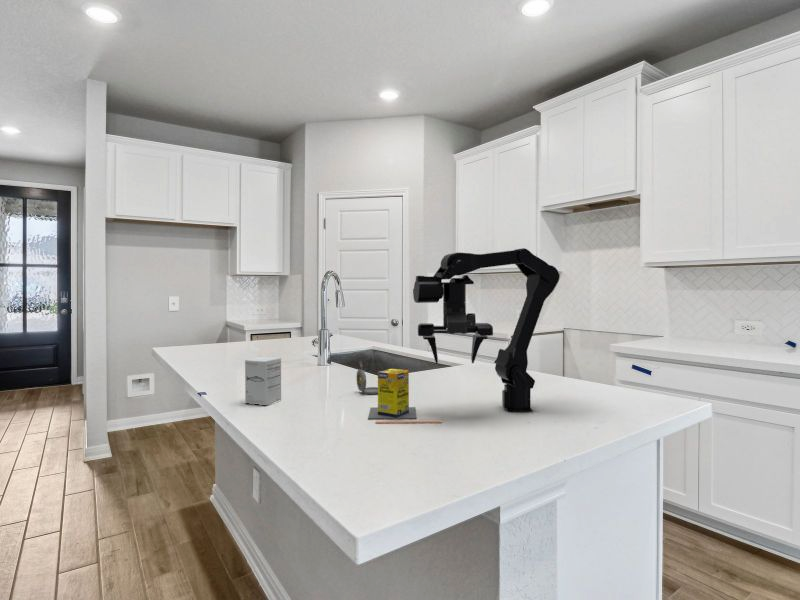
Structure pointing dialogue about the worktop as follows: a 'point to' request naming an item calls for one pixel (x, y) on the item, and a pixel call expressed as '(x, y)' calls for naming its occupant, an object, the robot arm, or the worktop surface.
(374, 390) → the pocket watch
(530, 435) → the worktop surface
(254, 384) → the supplement box
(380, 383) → the supplement box
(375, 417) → the mat
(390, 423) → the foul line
